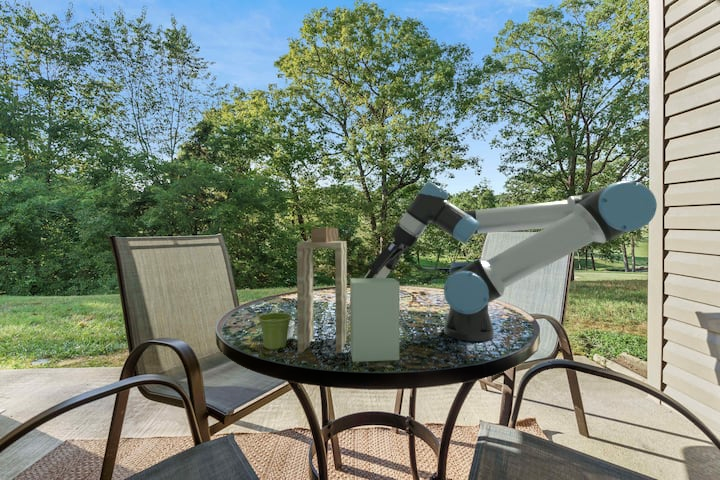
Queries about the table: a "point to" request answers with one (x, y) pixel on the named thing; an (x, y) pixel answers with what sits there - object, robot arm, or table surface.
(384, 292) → the block
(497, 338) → the table surface
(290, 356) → the table surface
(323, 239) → the rail
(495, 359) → the table surface
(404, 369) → the table surface
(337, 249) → the bridge
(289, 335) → the ramekin
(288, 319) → the plant pot
